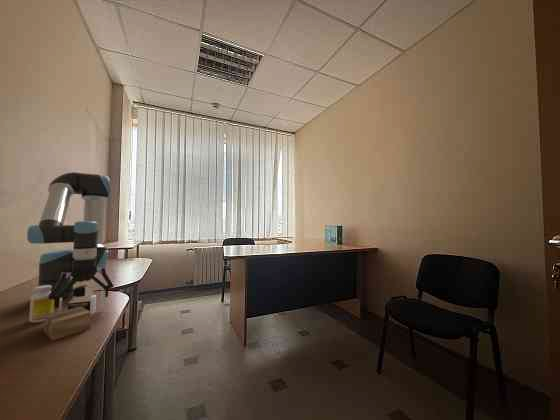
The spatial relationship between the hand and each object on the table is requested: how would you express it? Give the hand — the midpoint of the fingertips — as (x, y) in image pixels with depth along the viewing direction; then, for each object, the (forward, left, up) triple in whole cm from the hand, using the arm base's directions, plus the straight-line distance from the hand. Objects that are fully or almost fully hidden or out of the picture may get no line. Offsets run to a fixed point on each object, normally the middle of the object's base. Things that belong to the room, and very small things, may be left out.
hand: (82, 310), depth 93 cm
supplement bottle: (-8, -11, -2) cm, 14 cm away
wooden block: (+11, -6, -2) cm, 13 cm away
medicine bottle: (0, 0, -2) cm, 2 cm away
